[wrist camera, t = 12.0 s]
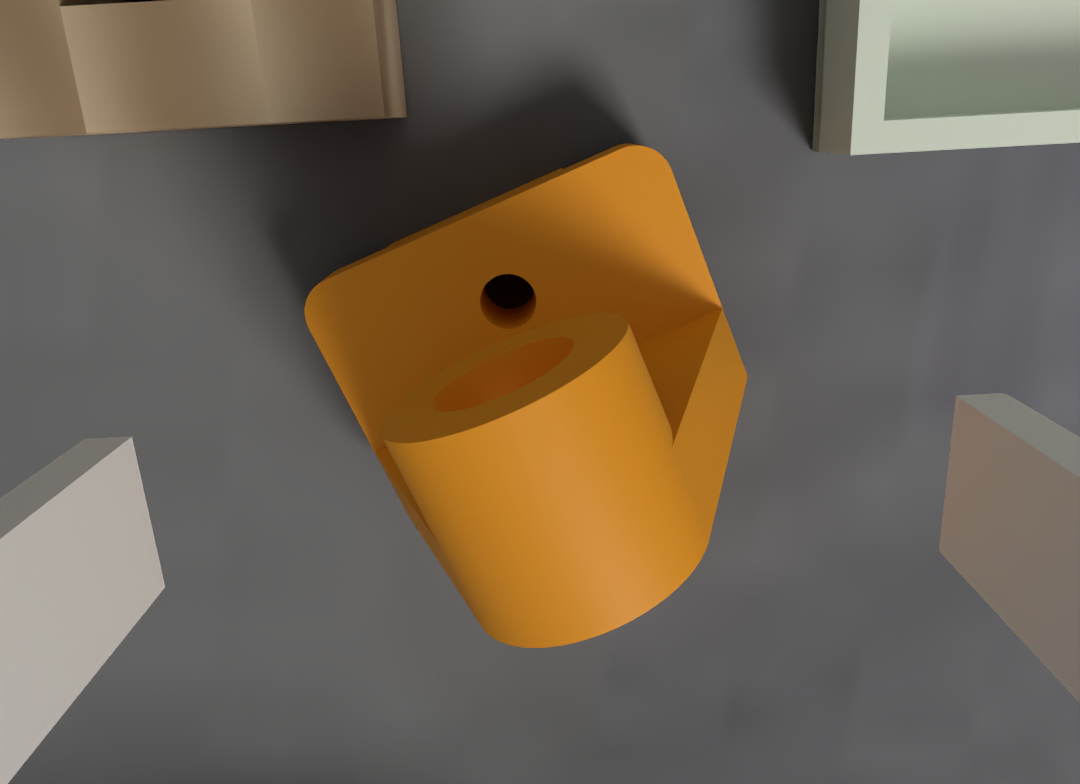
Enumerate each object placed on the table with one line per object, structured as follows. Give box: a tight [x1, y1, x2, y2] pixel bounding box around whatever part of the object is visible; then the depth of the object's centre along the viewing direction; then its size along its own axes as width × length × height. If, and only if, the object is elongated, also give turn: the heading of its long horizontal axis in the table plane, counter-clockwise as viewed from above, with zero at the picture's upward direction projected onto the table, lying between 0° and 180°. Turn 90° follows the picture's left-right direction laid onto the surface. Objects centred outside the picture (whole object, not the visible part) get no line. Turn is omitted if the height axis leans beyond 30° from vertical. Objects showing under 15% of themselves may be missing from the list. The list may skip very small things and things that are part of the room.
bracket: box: [305, 144, 748, 648], centre depth 20 cm, size 11×7×12 cm, turn 113°
